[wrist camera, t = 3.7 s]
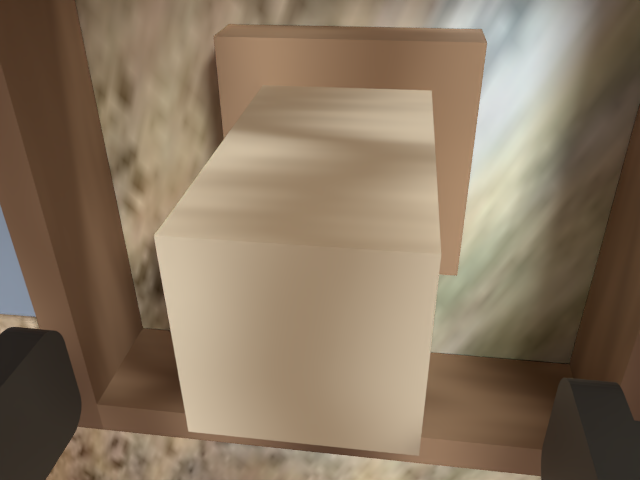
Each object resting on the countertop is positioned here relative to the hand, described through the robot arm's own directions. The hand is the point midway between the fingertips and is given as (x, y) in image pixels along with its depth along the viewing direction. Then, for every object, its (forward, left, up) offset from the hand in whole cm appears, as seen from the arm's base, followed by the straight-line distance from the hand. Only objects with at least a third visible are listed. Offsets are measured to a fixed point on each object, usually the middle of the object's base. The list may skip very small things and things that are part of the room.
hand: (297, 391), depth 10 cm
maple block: (0, 0, -9) cm, 9 cm away
